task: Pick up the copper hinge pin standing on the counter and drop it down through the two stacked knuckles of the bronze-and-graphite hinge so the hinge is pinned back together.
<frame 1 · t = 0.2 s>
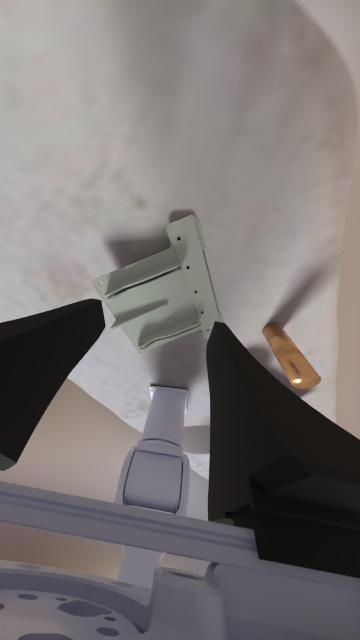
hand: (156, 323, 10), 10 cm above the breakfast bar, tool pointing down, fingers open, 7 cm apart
metal bracket: (166, 296, 20), on the breakfast bar
hinge pin: (271, 330, 21), on the breakfast bar
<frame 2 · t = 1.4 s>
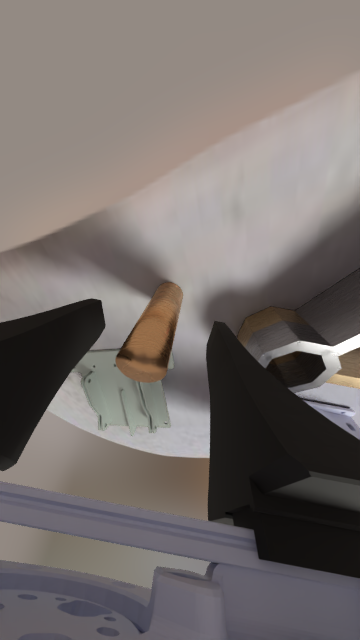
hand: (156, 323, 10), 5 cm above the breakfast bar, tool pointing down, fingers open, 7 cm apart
metal bracket: (131, 376, 22), on the breakfast bar
hinge pin: (169, 295, 13), on the breakfast bar
hinge: (268, 332, 14), on the breakfast bar
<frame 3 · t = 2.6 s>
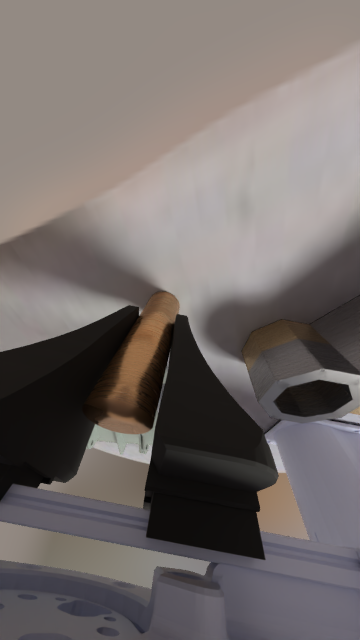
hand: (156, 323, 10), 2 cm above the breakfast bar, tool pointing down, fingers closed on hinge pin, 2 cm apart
metal bracket: (121, 388, 20), on the breakfast bar
hinge pin: (164, 306, 12), on the breakfast bar, touching gripper
hinge: (277, 347, 13), on the breakfast bar
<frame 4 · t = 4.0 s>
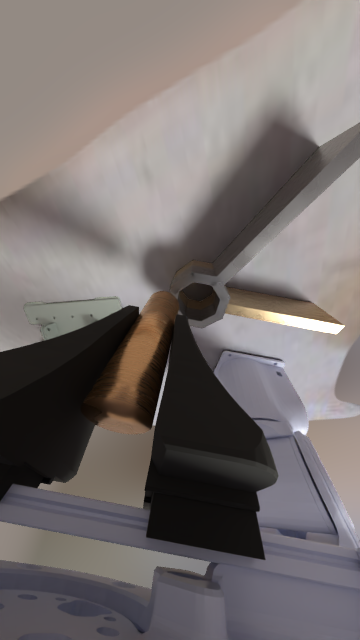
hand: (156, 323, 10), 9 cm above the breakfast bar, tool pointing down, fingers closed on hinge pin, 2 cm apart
metal bracket: (91, 333, 25), on the breakfast bar
hinge pin: (163, 305, 12), point 7 cm above the breakfast bar, touching gripper
hinge: (197, 285, 18), on the breakfast bar
when the fingers open (5 cm above the breakfast bar, at t = 5.4 s): hinge pin drops 3 cm, resting in hinge.
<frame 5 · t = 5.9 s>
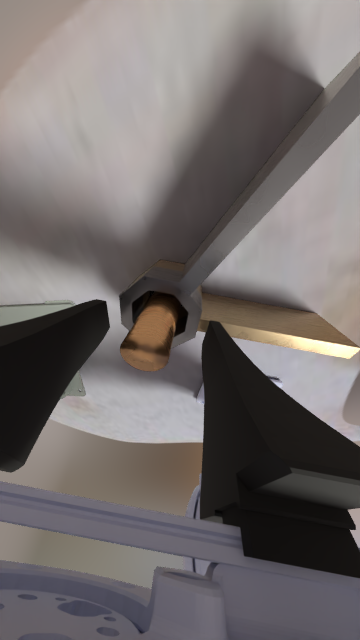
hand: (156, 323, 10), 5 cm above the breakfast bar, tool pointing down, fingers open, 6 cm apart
metal bracket: (50, 342, 21), on the breakfast bar
hinge pin: (170, 291, 14), resting in hinge
hinge: (170, 291, 14), on the breakfast bar
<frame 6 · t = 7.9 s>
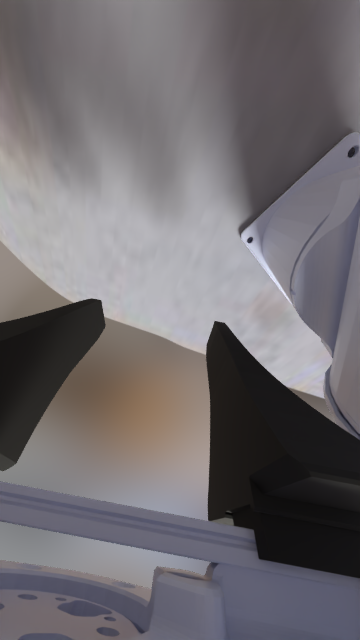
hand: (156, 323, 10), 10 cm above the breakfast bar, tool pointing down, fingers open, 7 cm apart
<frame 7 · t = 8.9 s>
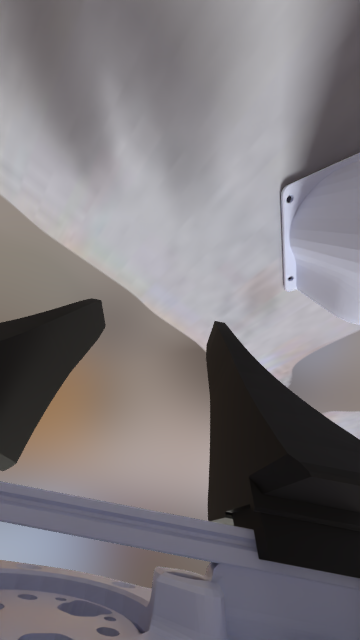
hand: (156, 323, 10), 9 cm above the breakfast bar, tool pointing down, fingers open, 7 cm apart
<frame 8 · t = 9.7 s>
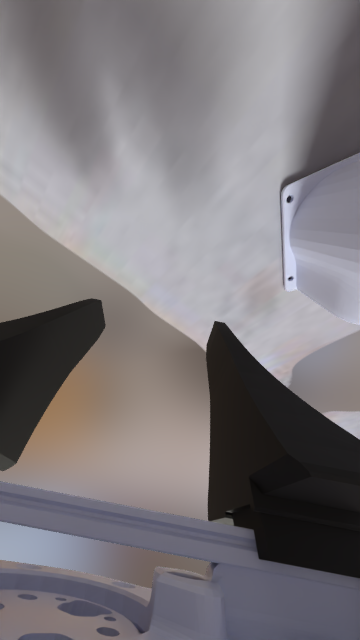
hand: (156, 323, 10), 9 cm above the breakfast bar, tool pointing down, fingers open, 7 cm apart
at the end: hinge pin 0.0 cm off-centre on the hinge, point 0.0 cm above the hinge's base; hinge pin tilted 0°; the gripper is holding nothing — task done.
